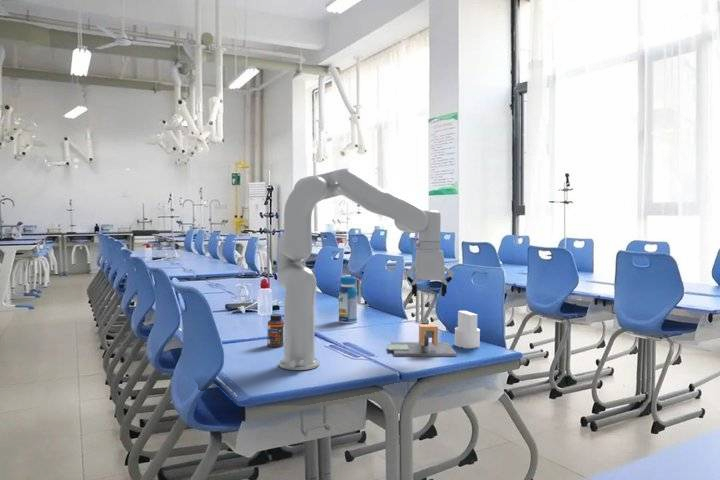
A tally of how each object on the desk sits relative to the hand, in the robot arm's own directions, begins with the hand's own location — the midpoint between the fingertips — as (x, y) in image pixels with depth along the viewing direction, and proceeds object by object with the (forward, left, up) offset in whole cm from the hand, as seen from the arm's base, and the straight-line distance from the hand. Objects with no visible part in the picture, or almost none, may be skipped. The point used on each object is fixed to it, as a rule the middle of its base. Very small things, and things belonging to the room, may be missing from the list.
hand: (429, 295), depth 190 cm
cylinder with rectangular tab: (+11, -16, -20) cm, 28 cm away
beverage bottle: (+54, +28, -20) cm, 64 cm away
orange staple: (0, 0, -17) cm, 17 cm away
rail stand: (+3, +2, -20) cm, 20 cm away
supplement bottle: (+10, +54, -20) cm, 59 cm away
